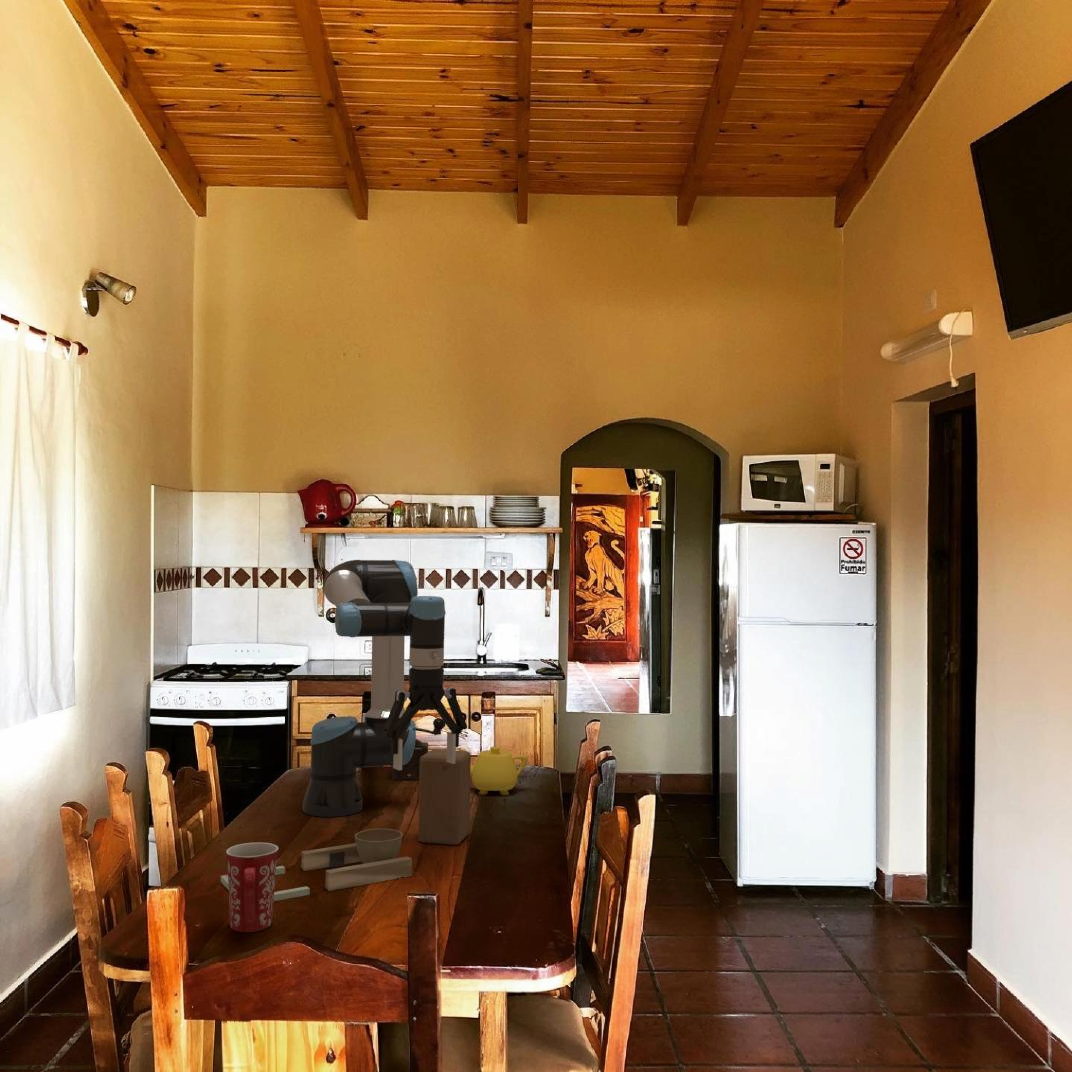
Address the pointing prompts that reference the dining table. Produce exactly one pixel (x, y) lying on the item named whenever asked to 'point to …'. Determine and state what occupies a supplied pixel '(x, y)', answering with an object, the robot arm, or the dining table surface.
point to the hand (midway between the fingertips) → (424, 765)
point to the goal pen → (280, 894)
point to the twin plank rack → (353, 867)
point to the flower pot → (378, 844)
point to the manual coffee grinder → (417, 755)
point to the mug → (251, 885)
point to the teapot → (495, 770)
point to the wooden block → (444, 797)
